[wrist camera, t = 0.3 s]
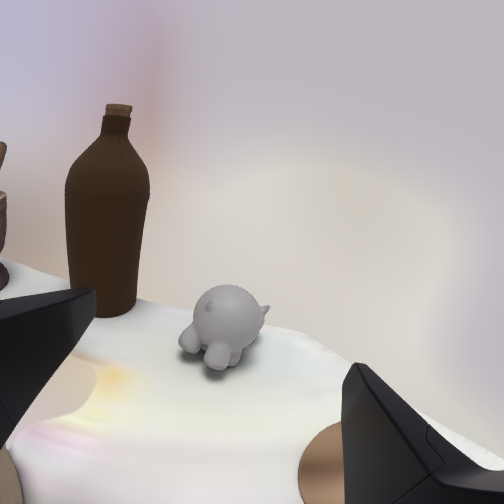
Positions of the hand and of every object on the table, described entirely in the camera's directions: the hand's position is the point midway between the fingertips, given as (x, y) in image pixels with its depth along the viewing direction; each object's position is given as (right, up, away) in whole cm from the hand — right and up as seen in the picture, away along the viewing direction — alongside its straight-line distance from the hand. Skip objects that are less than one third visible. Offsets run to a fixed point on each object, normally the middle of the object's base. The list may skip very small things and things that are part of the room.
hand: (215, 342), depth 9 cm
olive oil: (-19, -4, +27) cm, 33 cm away
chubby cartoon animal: (-2, -9, +24) cm, 26 cm away
